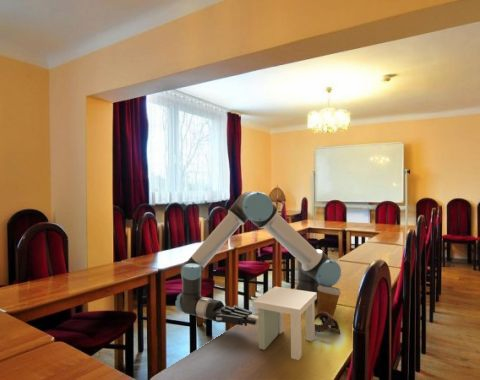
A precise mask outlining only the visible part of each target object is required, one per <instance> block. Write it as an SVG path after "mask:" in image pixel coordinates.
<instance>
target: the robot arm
mask: <svg viewBox="0 0 480 380" xmlns="http://www.w3.org/2000/svg"><path fill="white" fill-rule="evenodd" d="M248 221H250V222H251V223H253V225H255V226H256V227H257V228H258V229H264V230H265V231H267V233H268V234H270V235H271V237H273V238H274V239H275V240H276V241H277V242H278V243H279V244H280V245H281V246H282V247H284V249H285V250H287V252H289V253H290V254H291V256H293V257H294V258H295V259H296V260H297V283H296V288H295V289H296V290H303V291H309V292H316V293H317V299H316V300H315V301H314V304H318V288H317V287H318V286H319V285H322V286H326V287H329V286H331V287H334V286H335V285H337V284H338V282H339V281H340V279H341V276H342V268H341V266H340V264H339V263H338V262H337V261H336V260H334V259H331V258H330V257H329V256H328V255H327V254H326V253H325V252H324V251H323V250H321V249H318V248H317V249H316V248H315V247H314V246H312V244H310V243H309V241H307V240H306V239H305V238H304V237H303V236H302V235H301V234H300V233H299V232H298V231H297V230H296V229H295V228H294V227H293V226H291V224H290V223H288V222H287V220H285V219H284V218H283V217H282V216H281V215H280V214H279V208H278V207H277V206H276V205H275V204H274V203H273V201H272V199H271V197H270V196H269V195H267V194H266V193H264V192H262V191H246V192H244V193H242V194H241V195H239V196H238V198H237V199H236V200H235V201H234V203H232V205H231V206H230V208H228V210H227V215H226V216H224V217H223V219H222V220H221V222H220V223H219V224H218V225H217V226H216V227H215V229H214V230H212V232H211V233H210V234H209V235H208V236H207V238H206V239H205V240H204V241H203V242H202V243H201V245H200V246H199V247H198V248H197V249H196V251H194V253H193V254H192V255H191V256H190V257H189V259H187V260H186V261H184V262H183V263H182V264H181V267H180V270H179V271H180V276H181V288H182V289H181V290H182V291H181V292H180V293H179V294H178V295H177V296H176V300H175V308H176V310H178V311H179V312H182V313H184V314H186V315H192V316H195V317H199V318H203V319H204V320H210V321H213V322H216V323H225V324H231V325H238V326H243V325H244V327H247V326H248V325H251V326H256V327H259V319H258V315H254V314H253V311H251V310H248V309H246V308H243V307H240V306H238V305H237V304H234V305H233V307H231V306H229V305H225V304H224V302H223V301H222V300H218V299H213V298H211V297H205V296H202V295H201V293H202V272H203V269H204V268H206V266H207V265H208V263H210V262H211V260H212V259H213V258H214V257H215V256H216V254H217V253H218V252H219V251H220V250H221V248H222V247H223V246H224V245H225V244H226V242H227V241H228V240H229V239H230V238H231V237H232V235H233V234H234V233H235V232H236V231H237V230H238V228H239V227H240V226H241V225H245V224H246V223H247V222H248Z"/></svg>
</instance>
